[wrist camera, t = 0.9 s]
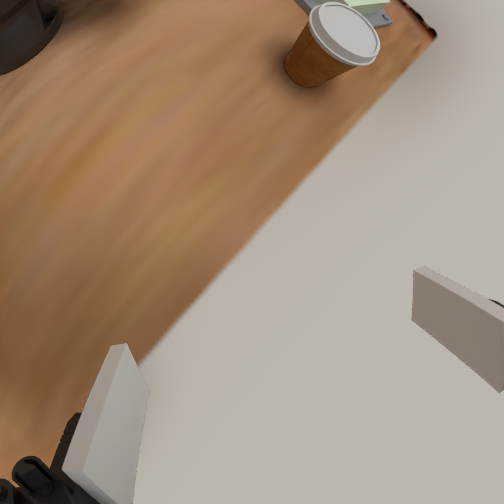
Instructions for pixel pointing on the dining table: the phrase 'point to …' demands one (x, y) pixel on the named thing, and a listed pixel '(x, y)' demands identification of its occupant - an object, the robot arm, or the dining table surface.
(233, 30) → the dining table surface
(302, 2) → the tower base
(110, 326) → the dining table surface
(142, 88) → the dining table surface
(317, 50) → the disposable coffee cup
